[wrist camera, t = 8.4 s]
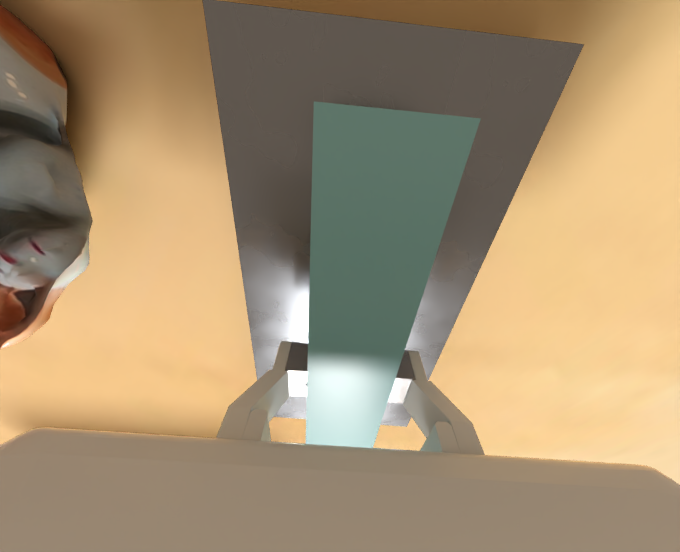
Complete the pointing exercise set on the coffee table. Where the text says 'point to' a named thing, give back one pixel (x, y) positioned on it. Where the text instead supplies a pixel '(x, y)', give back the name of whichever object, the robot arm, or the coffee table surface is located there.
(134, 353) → the coffee table surface
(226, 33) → the hole plate
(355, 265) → the peg strip
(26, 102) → the lucky cat figurine
